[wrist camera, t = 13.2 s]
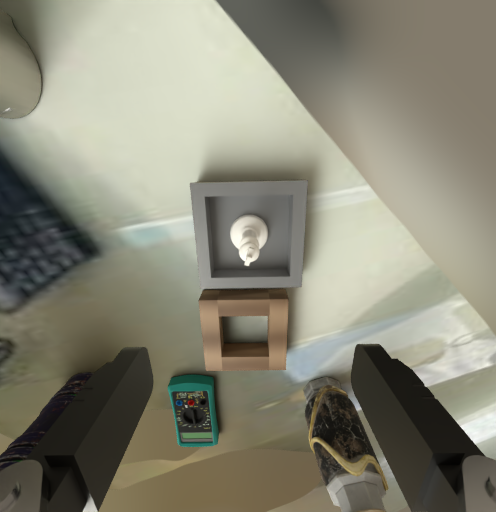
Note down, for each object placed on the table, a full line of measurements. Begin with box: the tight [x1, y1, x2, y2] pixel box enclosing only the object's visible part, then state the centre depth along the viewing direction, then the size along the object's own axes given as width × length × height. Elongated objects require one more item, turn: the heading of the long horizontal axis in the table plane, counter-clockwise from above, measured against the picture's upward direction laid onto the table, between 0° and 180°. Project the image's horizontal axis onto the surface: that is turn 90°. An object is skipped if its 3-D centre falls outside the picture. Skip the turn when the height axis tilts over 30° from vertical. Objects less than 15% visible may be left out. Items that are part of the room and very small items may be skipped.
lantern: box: [303, 377, 388, 512], centre depth 28 cm, size 9×8×25 cm
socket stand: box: [199, 289, 289, 371], centre depth 34 cm, size 12×12×3 cm
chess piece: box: [230, 215, 268, 266], centre depth 25 cm, size 5×5×10 cm
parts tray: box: [190, 180, 308, 289], centre depth 29 cm, size 13×13×4 cm
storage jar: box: [0, 373, 94, 471], centre depth 33 cm, size 10×10×15 cm
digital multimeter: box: [168, 375, 219, 447], centre depth 40 cm, size 7×15×3 cm, turn 2°
